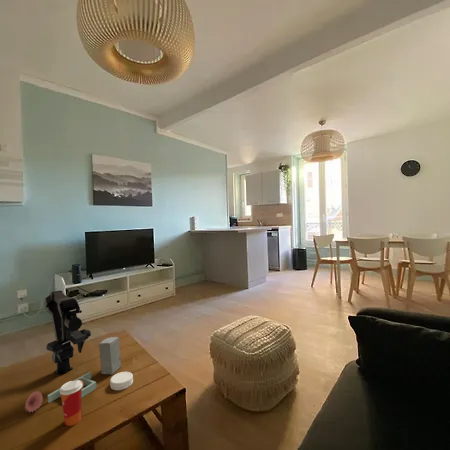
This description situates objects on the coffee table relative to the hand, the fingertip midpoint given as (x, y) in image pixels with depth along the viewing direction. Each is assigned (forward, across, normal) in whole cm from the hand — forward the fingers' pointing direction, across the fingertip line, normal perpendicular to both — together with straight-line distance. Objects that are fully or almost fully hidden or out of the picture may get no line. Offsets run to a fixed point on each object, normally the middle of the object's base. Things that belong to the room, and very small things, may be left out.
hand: (70, 357), depth 132 cm
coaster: (+12, +9, -24) cm, 28 cm away
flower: (+12, -19, -5) cm, 23 cm away
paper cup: (+12, -16, -26) cm, 33 cm away
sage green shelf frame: (+12, -4, -10) cm, 16 cm away
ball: (+12, -4, -10) cm, 16 cm away
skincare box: (+12, +15, -9) cm, 21 cm away
